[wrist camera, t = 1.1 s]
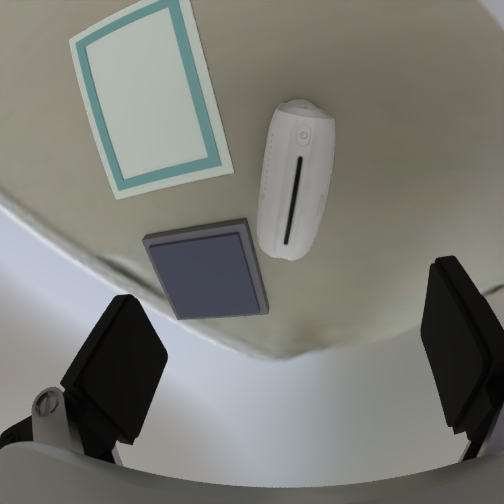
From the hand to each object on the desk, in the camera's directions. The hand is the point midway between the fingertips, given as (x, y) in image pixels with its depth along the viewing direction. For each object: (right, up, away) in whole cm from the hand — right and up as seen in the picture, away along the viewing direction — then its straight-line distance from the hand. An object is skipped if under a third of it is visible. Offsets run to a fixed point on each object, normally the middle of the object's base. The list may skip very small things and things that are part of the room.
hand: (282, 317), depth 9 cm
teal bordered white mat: (-12, +17, +17) cm, 27 cm away
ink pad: (-6, 0, +27) cm, 27 cm away
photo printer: (+3, +11, +18) cm, 22 cm away
